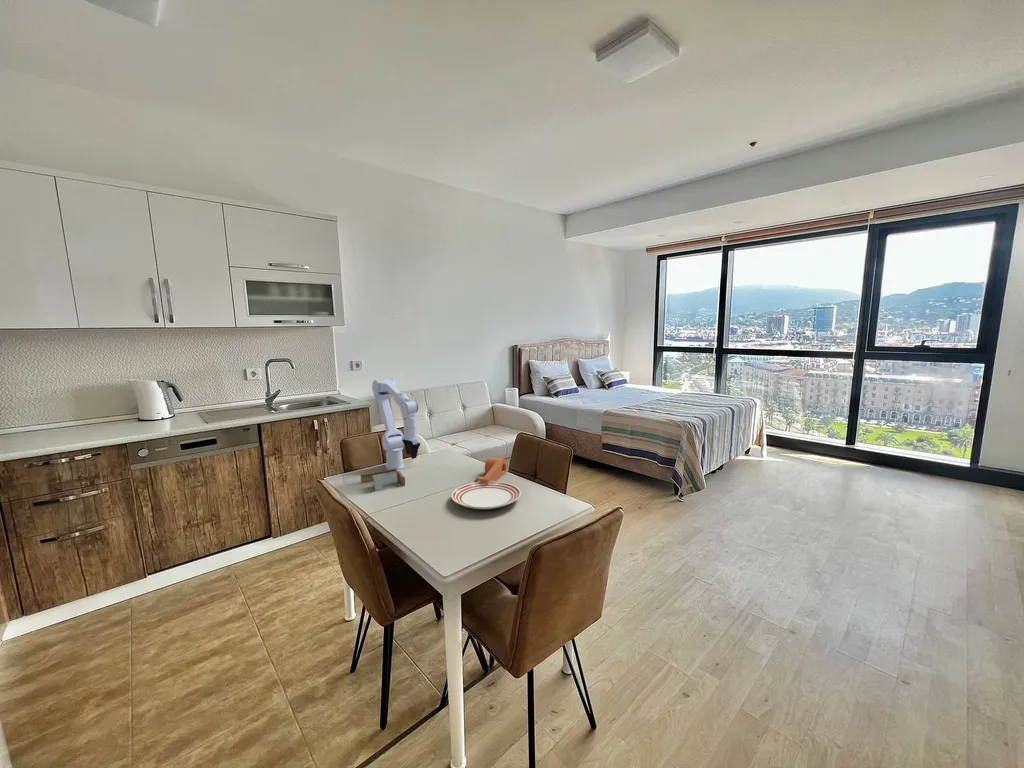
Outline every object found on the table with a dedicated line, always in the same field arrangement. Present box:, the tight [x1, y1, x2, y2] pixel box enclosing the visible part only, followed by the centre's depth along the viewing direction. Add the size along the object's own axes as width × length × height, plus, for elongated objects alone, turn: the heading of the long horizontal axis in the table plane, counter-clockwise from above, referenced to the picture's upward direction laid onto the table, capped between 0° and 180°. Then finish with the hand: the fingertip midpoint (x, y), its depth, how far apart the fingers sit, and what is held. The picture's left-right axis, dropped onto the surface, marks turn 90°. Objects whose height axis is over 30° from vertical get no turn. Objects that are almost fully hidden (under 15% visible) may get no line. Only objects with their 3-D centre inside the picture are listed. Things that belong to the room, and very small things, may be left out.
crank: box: [473, 456, 509, 485], centre depth 179 cm, size 20×8×8 cm, turn 156°
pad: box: [367, 484, 402, 493], centre depth 172 cm, size 8×13×1 cm, turn 120°
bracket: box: [371, 471, 398, 492], centre depth 171 cm, size 10×6×5 cm, turn 120°
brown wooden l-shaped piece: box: [360, 468, 406, 487], centre depth 174 cm, size 14×16×4 cm
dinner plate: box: [450, 481, 522, 510], centre depth 157 cm, size 28×27×3 cm
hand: (411, 456), depth 183 cm, fingers open, 7 cm apart
